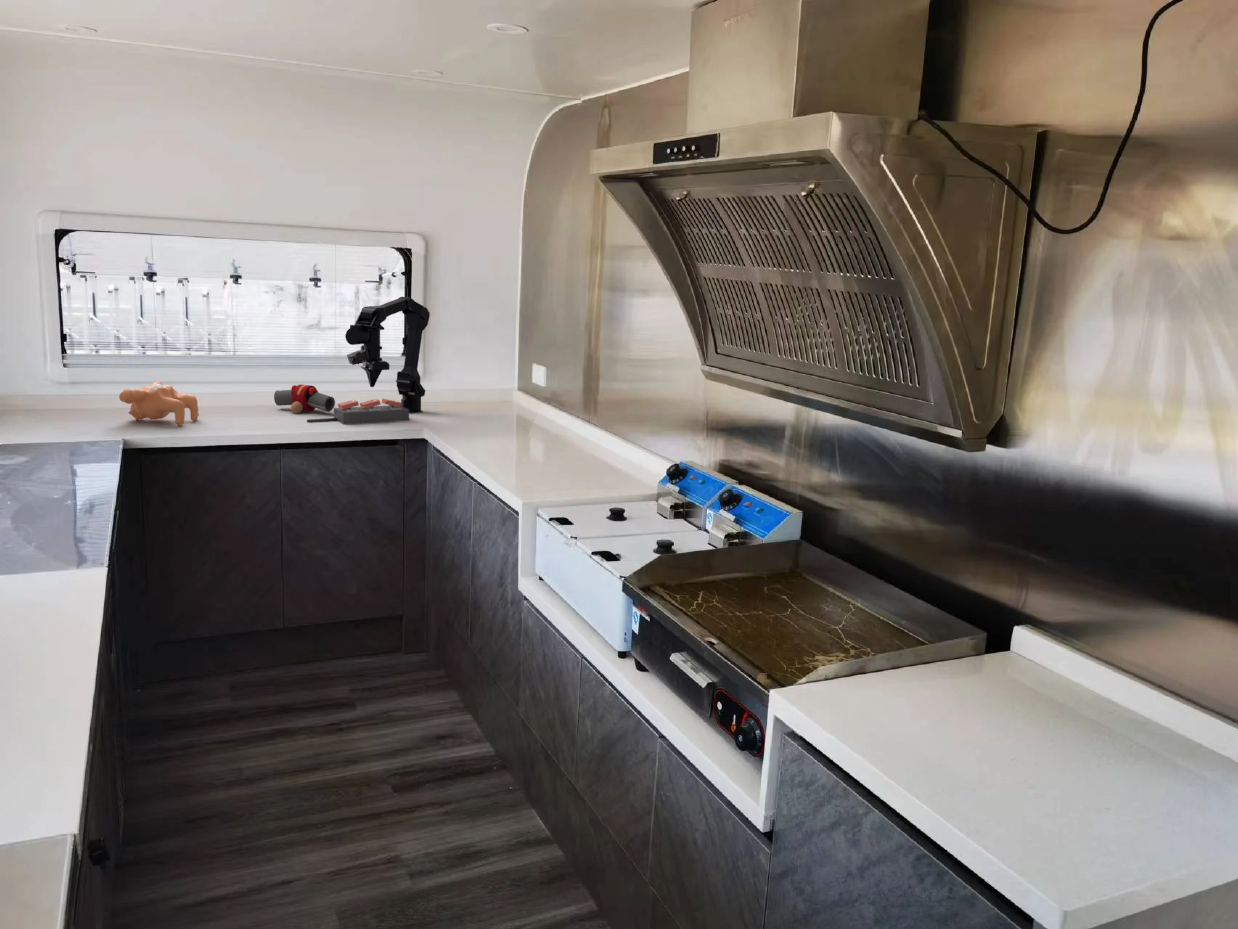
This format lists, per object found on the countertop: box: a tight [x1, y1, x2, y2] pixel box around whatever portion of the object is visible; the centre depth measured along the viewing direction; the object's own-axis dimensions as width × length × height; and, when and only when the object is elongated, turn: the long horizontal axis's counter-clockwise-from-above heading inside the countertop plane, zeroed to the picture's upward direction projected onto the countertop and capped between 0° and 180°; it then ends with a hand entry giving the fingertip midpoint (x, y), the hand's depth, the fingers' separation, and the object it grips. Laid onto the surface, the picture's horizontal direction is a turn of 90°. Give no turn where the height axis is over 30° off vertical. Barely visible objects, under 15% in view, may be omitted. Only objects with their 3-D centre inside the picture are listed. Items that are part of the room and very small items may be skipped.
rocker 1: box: [337, 399, 360, 410], centre depth 340 cm, size 6×4×2 cm, turn 124°
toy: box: [273, 384, 336, 415], centre depth 353 cm, size 23×10×15 cm
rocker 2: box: [359, 398, 381, 409], centre depth 344 cm, size 6×4×2 cm, turn 124°
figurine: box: [118, 380, 200, 427], centre depth 319 cm, size 14×25×20 cm
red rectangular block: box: [381, 398, 402, 407], centre depth 349 cm, size 6×4×2 cm, turn 125°
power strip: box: [306, 405, 410, 425], centre depth 341 cm, size 34×10×5 cm, turn 124°
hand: (372, 386), depth 343 cm, fingers closed
